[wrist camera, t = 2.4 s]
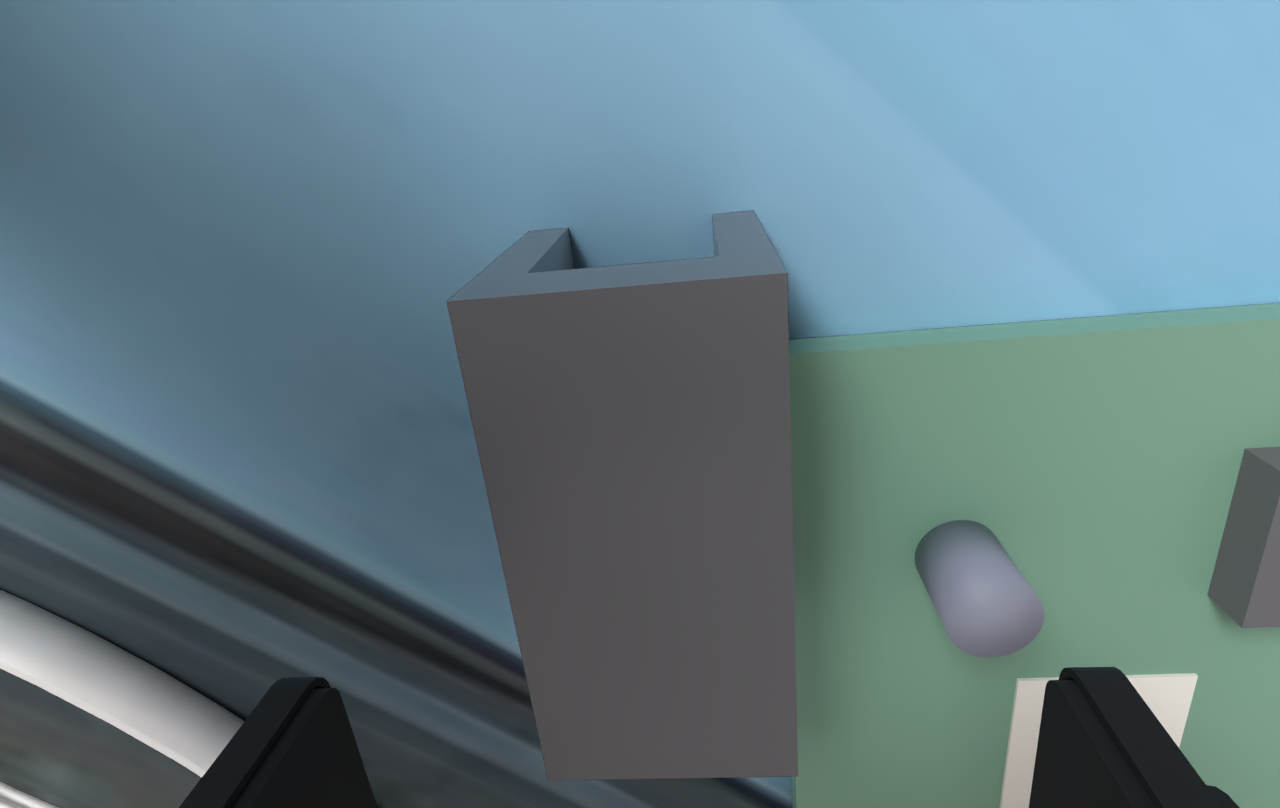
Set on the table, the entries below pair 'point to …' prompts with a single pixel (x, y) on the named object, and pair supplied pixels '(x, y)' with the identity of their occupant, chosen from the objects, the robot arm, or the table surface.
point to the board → (1033, 547)
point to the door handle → (109, 689)
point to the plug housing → (642, 500)
